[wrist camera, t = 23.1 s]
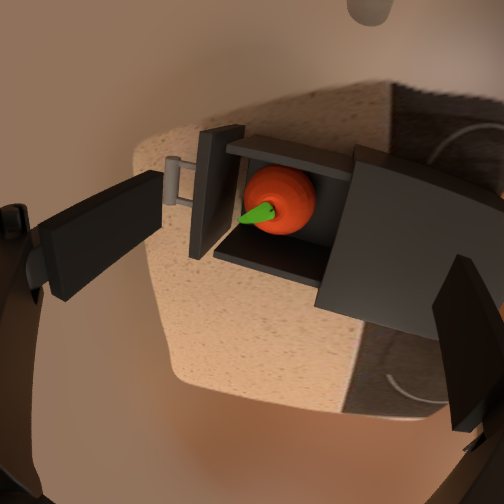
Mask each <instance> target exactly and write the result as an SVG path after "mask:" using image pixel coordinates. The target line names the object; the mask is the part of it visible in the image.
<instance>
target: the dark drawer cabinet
mask: <svg viewBox="0 0 504 504" xmlns="http://www.w3.org/2000/svg"><path fill="white" fill-rule="evenodd" d="M352 157H354V169H353V173H352V176H351V180H350V184H349V188H348V192H347V196H346V200H345V203H344V207H343V211H342V214H341V218H340V221H339V225H338V228H337V232H336V235H335V239H334V242H333V246H332V249H331V252H330V256H329V259H328V262H327V266H326V269H325V272H324V275H323V279H322V282H321V285H320V288H318V292H317V296H316V300H315V304H314V307H317V308H321V309H324V310H328V311H331V312H335V313H338V314H342V315H345V316H349V317H352V318H356V319H359V320H363V321H367V322H370V323H374V324H377V325H381V326H385V327H389V328H392V329H396V330H400V331H404V332H407V333H411V334H415V335H419V336H423V337H426V338H430V339H434V340H438V341H439V338H438V333H437V329H436V324H435V320H434V315H433V311H432V307H431V306H432V304H433V302H434V301H435V299H436V297H437V295H438V293H439V291H440V289H441V287H442V285H443V283H444V281H445V279H446V276H447V274H448V272H449V270H450V268H451V266H452V264H453V261H454V259H455V257H456V255H457V254H459V255H462V256H465V257H468V258H471V259H472V261H473V263H474V264H475V266H476V268H477V270H478V272H479V274H480V275H481V277H482V279H483V281H484V283H485V285H486V287H487V289H488V291H489V293H490V295H491V297H492V299H493V301H494V303H495V305H496V307H497V309H498V311H499V309H500V307H501V305H502V303H503V302H504V199H502V198H501V197H500V196H498V195H497V194H495V193H493V192H491V191H489V190H486V189H484V188H482V187H479V186H477V185H475V184H472V183H470V182H467V181H465V180H462V179H460V178H457V177H455V176H452V175H449V174H447V173H444V172H441V171H439V170H436V169H433V168H431V167H428V166H425V165H422V164H419V163H416V162H413V161H410V160H407V159H404V158H401V157H398V156H395V155H392V154H389V153H385V152H382V151H379V150H376V149H372V148H369V147H365V146H362V145H358V144H355V148H354V152H353V156H352Z"/></svg>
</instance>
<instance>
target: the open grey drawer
mask: <svg viewBox="0 0 504 504" xmlns="http://www.w3.org/2000/svg"><path fill="white" fill-rule="evenodd" d="M244 132H245V125H240V124H232V125H228V126H223V127H218V128H213V129H209V130H204V131H200V135H199V144H198V153H197V162H196V163H192V162H187V161H181V158H180V157H178V156H168V157H166V159H165V174H164V191H163V203H164V204H165V205H176V204H180V205H184V206H188V207H191V208H192V217H191V230H190V244H189V257H190V258H193V259H196V260H200V259H201V258H202V257H203V256H204V255H205V254H206V253H207V252H208V251H209V250H210V249H211V247H212V246H213V245H214V244H215V243H216V242H217V241H218V240H219V239H220V238H221V237H222V236H223V235H224V234H225V233H226V232H227V231H228V230H229V229H230V228H231V222H232V214H233V207H234V200H235V193H236V186H237V179H238V172H239V165H240V159H241V156H245V157H249V158H250V159H249V166H248V172H247V179H246V185H245V188H246V186H247V184H248V182H249V180H250V179H251V177H252V176H253V175H254V174H255V173H256V172H257V171H258V170H260V169H261V168H263V167H265V166H268V165H271V164H281V165H285V166H289V167H293V168H297V169H300V170H302V171H303V172H304V173H305V174H306V175H307V176H308V177H309V179H310V180H311V182H312V183H313V186H314V189H315V193H316V206H315V210H314V213H313V215H312V217H311V219H310V220H309V221H308V222H307V223H306V224H305V225H304V226H303V227H302V228H301V229H300V230H298V231H296V232H294V233H291V234H286V235H274V234H270V233H267V232H265V231H263V230H261V229H259V228H258V227H257V226H256V225H255V224H254V223H248V224H246V223H239V224H238V225H237V226H236V227H235V228H234V230H233V231H232V232H231V233H230V234H229V235H228V236H227V237H226V238H225V239H224V240H223V241H222V242H221V243H220V244H219V245H218V247H217V248H216V249H215V250H214V253H213V257H214V258H218V259H221V260H224V261H227V262H231V263H234V264H237V265H241V266H244V267H247V268H251V269H254V270H257V271H261V272H264V273H268V274H271V275H274V276H278V277H281V278H284V279H288V280H291V281H295V282H298V283H301V284H305V285H308V286H312V287H315V288H320V285H321V282H322V279H323V275H324V272H325V269H326V266H327V262H328V259H329V256H330V252H331V249H332V246H333V242H334V239H335V235H336V232H337V228H338V225H339V221H340V218H341V214H342V211H343V207H344V203H345V200H346V196H347V192H348V188H349V184H350V180H351V176H352V173H353V169H354V157H351V156H347V155H343V154H340V153H336V152H332V151H328V150H324V149H320V148H316V147H312V146H308V145H304V144H299V143H295V142H291V141H286V140H282V139H277V138H272V137H267V136H262V135H257V134H255V135H252V136H249V137H246V138H244ZM180 167H182V168H187V169H191V170H196V172H195V182H194V193H193V200H189V199H185V198H181V197H178V191H179V178H180ZM244 193H245V192H244ZM246 213H247V211H246V209H245V203H244V198H243V205H242V211H241V216H243V215H244V214H246Z"/></svg>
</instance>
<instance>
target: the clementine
mask: <svg viewBox="0 0 504 504" xmlns="http://www.w3.org/2000/svg"><path fill="white" fill-rule="evenodd" d="M244 203H245V209H246V211H247V213H246V214H244V215H243V216H241V217H240V218H238V221H239V222H240V223H246V224H248V223H254V224H255V225H256V226H257V227H258V228H259V229H261V230H263V231H265V232H267V233H270V234H274V235H286V234H291V233H294V232H296V231H298V230H300V229H301V228H302V227H303V226H304V225H305V224H306V223H307V222H308V221H309V220H310V219H311V217H312V215H313V213H314V210H315V206H316V193H315V189H314V186H313V183H312V182H311V180H310V179H309V177H308V176H307V175H306V174H305V173H304V172H303V171H302V170H300V169H297V168H293V167H289V166H285V165H281V164H271V165H268V166H265V167H263V168H261V169H260V170H258V171H257V172H256V173H255V174H254V175H253V176H252V177H251V179H250V180H249V182H248V184H247V186H246V188H245V193H244Z"/></svg>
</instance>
